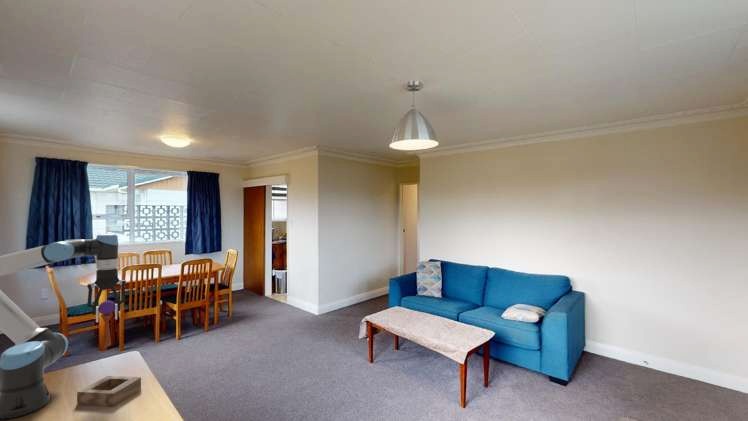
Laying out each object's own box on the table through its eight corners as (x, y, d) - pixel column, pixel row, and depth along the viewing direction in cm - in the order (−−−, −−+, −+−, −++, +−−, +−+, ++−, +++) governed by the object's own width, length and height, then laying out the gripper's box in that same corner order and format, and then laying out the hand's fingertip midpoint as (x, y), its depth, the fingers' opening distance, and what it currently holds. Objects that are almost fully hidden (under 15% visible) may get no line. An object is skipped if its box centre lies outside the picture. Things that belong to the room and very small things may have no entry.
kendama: (103, 349, 143) (103, 303, 143) (94, 347, 145) (95, 301, 145) (118, 344, 148) (118, 299, 149) (109, 342, 150) (110, 298, 151)
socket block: (76, 404, 129) (77, 391, 129) (107, 387, 142) (107, 375, 142) (113, 406, 127) (113, 393, 127) (140, 389, 140) (141, 377, 140)
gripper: (78, 271, 138) (77, 326, 138) (133, 267, 150) (133, 317, 150) (79, 269, 144) (79, 322, 144) (132, 265, 156) (132, 314, 156)
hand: (106, 320), depth 147 cm, fingers closed on kendama, 6 cm apart
